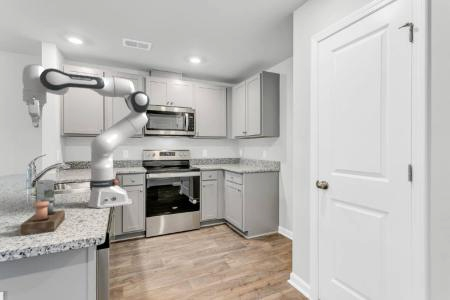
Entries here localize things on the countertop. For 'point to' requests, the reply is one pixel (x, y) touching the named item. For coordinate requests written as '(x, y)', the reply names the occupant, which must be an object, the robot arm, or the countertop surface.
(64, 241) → the countertop surface
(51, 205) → the grey plug
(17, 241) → the countertop surface
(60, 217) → the wooden frame holder
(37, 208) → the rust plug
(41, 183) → the syrup box
